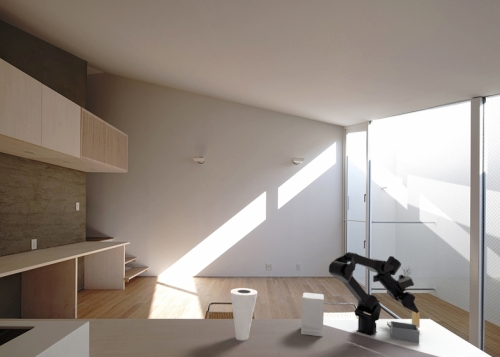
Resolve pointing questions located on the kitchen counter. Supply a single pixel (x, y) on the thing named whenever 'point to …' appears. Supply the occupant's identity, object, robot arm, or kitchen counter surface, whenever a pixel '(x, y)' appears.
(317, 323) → the supplement box
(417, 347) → the kitchen counter surface
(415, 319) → the lid
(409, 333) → the tub
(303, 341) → the kitchen counter surface
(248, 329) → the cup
